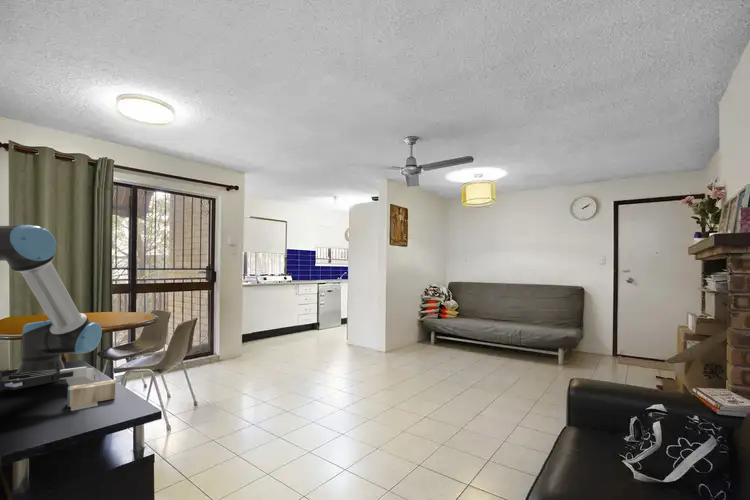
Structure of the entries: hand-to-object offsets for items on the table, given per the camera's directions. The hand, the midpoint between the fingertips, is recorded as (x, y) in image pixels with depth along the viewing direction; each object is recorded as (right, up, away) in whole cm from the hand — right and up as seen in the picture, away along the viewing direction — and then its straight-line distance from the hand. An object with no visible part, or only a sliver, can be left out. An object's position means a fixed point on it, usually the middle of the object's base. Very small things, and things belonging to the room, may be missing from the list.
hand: (86, 371), depth 120 cm
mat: (0, -10, -1) cm, 10 cm away
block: (-3, -7, -3) cm, 8 cm away
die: (-10, -11, +12) cm, 19 cm away
